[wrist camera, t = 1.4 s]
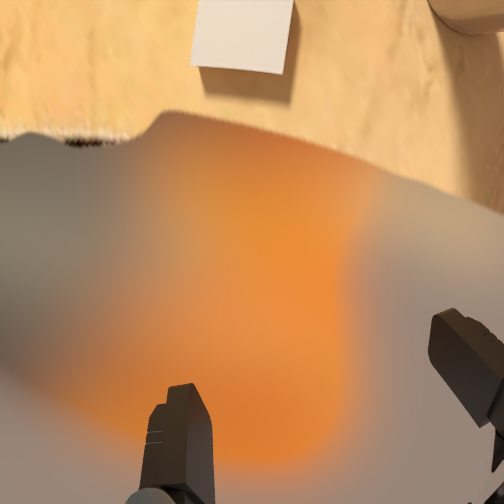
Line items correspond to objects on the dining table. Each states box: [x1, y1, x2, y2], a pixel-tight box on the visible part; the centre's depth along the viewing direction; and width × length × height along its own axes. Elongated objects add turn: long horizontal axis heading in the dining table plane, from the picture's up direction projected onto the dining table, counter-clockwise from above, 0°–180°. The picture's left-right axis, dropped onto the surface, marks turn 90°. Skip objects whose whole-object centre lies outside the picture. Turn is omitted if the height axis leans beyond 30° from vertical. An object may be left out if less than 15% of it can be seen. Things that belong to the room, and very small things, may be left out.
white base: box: [190, 0, 294, 75], centre depth 26 cm, size 9×9×3 cm
